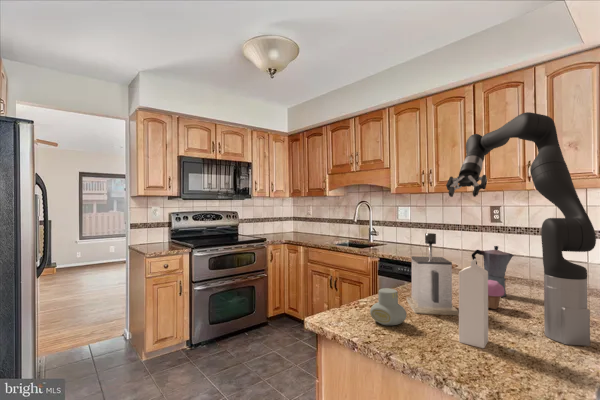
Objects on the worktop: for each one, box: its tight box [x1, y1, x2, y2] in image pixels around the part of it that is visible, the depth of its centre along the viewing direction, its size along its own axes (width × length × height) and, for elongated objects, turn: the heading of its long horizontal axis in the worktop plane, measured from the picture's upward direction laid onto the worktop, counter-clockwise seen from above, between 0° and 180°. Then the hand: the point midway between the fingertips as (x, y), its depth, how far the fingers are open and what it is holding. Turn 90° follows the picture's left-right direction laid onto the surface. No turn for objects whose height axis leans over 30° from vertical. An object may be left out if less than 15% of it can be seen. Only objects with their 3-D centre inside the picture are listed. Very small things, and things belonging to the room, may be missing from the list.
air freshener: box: [369, 287, 407, 327], centre depth 100 cm, size 11×8×10 cm
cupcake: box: [488, 280, 506, 310], centre depth 114 cm, size 9×9×10 cm
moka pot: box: [471, 245, 515, 298], centre depth 132 cm, size 10×15×20 cm, turn 79°
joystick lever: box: [424, 232, 437, 260], centre depth 114 cm, size 9×9×24 cm
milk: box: [458, 258, 489, 349], centre depth 86 cm, size 6×6×22 cm
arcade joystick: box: [406, 256, 459, 316], centre depth 114 cm, size 14×14×17 cm
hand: (462, 195), depth 125 cm, fingers open, 8 cm apart
